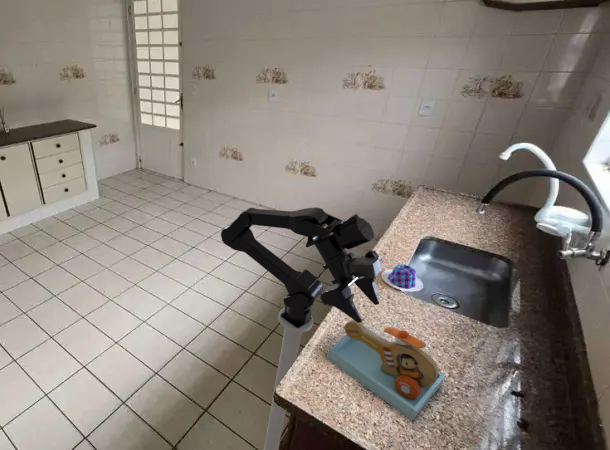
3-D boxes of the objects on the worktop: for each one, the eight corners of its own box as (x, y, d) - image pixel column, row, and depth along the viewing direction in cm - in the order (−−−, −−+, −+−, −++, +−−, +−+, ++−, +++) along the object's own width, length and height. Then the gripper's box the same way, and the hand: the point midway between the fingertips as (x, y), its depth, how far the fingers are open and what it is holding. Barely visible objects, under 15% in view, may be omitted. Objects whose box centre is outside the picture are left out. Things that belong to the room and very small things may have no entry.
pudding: (398, 267, 123) (402, 255, 120) (430, 287, 113) (436, 274, 110) (372, 275, 119) (376, 263, 116) (404, 297, 109) (409, 283, 106)
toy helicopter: (418, 408, 76) (439, 364, 69) (332, 348, 90) (343, 307, 84) (434, 387, 80) (455, 345, 74) (349, 334, 95) (361, 294, 88)
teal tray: (326, 357, 89) (328, 349, 87) (357, 332, 96) (360, 323, 95) (412, 420, 74) (416, 411, 72) (441, 384, 81) (445, 375, 80)
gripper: (343, 260, 74) (383, 327, 71) (380, 231, 84) (416, 288, 82) (304, 274, 82) (339, 334, 80) (342, 246, 93) (374, 298, 91)
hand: (369, 313), depth 83 cm, fingers open, 9 cm apart
